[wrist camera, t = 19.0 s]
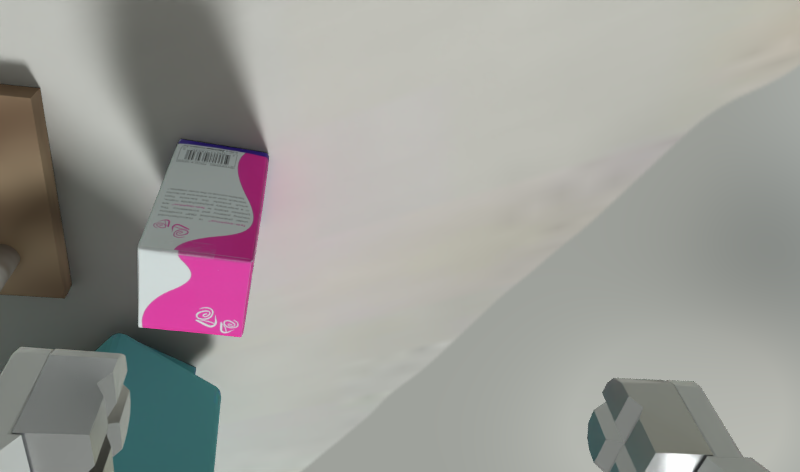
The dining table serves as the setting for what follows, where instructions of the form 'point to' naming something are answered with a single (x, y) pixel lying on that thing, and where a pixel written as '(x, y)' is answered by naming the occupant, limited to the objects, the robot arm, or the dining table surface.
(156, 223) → the supplement box
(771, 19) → the dining table surface
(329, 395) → the dining table surface
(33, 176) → the peg board
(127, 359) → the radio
